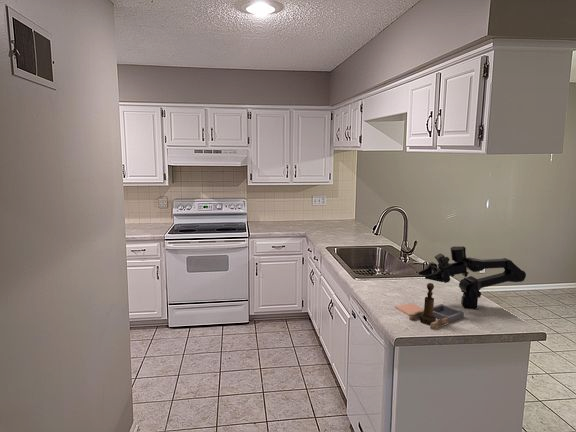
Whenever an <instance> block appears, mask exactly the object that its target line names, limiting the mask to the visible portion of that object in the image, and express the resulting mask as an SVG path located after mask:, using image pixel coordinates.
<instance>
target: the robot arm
mask: <svg viewBox="0 0 576 432" xmlns="http://www.w3.org/2000/svg"><path fill="white" fill-rule="evenodd" d="M466 250H467V249H466V247H465V246H463V245H462V246H451V247H450V256H451V259H450V258H449V256H445V255H444V254H443V253H438V254H437V255H435V256H434V259H436V262H437V263H435V262H434V261H433V262H432V261H431V262H428V265H427V267H426V268H424V269H422V270H420V271H418V273H417V274H418V275H420V276H424V279H426V280H429V281H436V282H440V283H445V284H446V283H450V282H451V277H455V276H456V275H462V276H463V278H462V279H460V281H459V283H458V287H459V289H460V292H461V293H462V296H461V300H460V304H461V306H462V307H463V308H464V309H466V308H477V307H478V301H479V300H478V299H479V298H481V296H482V293H481V291H480V290H481V289H484V288H488V287H491V286H495V285H500V284H504V283H507V282H508V283H510V282H511V283H522V282H524V281H525V279H526V277H527V274H526V272H525V270H523V269H521V268H520V267H519V266H518V265H516V264H515V263H514V262H513V260H511V259H508V258H506V257H504V258H491V259H488V258H487V259H481V258H477V257H470V256H469V257H467V254H466V252H467V251H466ZM450 260H452V261H453V262H451V263H450ZM485 269H487V270H488V269H504V271H502V272H499V273H496V274H492V275H487V276H484V277H479V278H476V277H474V276H471V275H469V271H470V272H472V273H478V272H481V271H483V270H485ZM468 275H469V276H468Z"/></svg>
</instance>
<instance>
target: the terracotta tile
mask: <svg viewBox="0 0 576 432" xmlns="http://www.w3.org/2000/svg"><path fill="white" fill-rule="evenodd" d="M394 309H396V310H399V311H400V312H402V313H404V314H405V315H407V316H410V314H412V313H415V312H418V311H421V310H424V308H423V307H420V306H419V305H417V304H415V303H412V302H411V303H406V304H399V305H395V306H394Z"/></svg>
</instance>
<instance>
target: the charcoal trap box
mask: <svg viewBox="0 0 576 432" xmlns="http://www.w3.org/2000/svg"><path fill="white" fill-rule="evenodd" d="M433 315H434V317H435V318H437V319H436V320H439V319H443V318H448V324H450V323H452V322H451V321H453V322H455V321H457V320H456V319H458V320H460V319H459V318H461V319H463V318H464V317H465V312H464V311H462V310H459V309H456V308H454V307H451V306H449V305H445V304H443V303H439V304H438V305H434V306H433ZM462 317H463V318H462ZM454 320H455V321H454ZM449 322H450V323H449Z"/></svg>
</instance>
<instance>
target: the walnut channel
mask: <svg viewBox="0 0 576 432" xmlns="http://www.w3.org/2000/svg"><path fill="white" fill-rule="evenodd" d="M422 314H424V310H421V311H418V312H415V313H412V314H410V316H409V315H408V316H409V318H408V319H409V321H414V320H417V319H420V316H421V315H422ZM447 323H448V318H443V319H440V320H439V319H437V320H436V321H435V322H432V323H431V325H430V324H429V325H430V327H429V329H431V330H435V329H437V327H438V328H440V327H443V326H446V325H448V324H449V323H448V324H447ZM445 324H446V325H445ZM442 325H443V326H442Z"/></svg>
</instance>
